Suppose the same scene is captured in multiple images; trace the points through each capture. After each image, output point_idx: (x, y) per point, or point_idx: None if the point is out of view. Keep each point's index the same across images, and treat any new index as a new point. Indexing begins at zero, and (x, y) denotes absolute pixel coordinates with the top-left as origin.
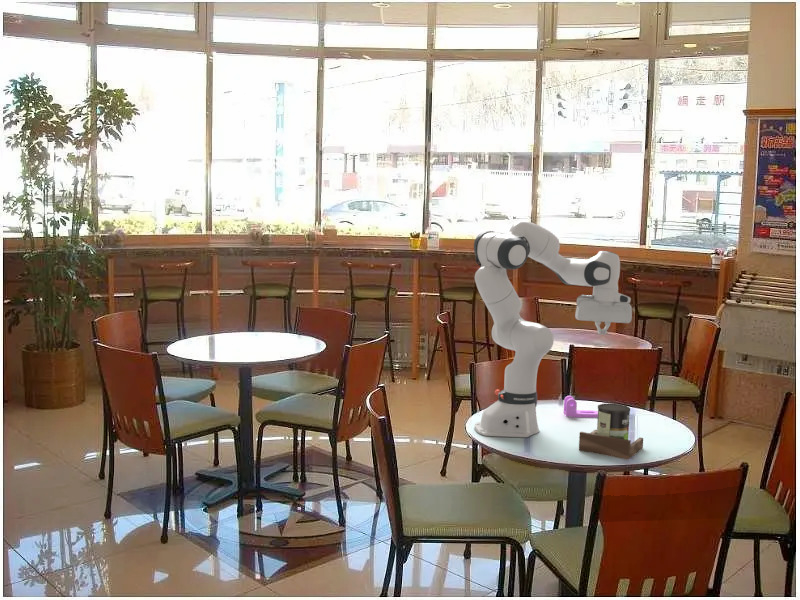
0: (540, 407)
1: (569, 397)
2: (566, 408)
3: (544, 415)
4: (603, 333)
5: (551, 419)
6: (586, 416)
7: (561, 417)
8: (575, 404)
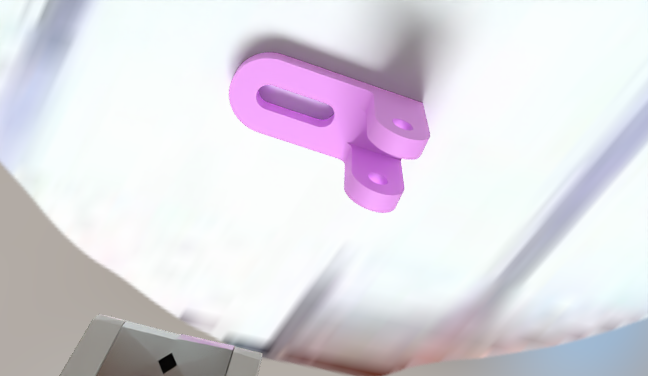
0: (443, 272)
1: (380, 190)
2: (425, 124)
3: (515, 153)
4: (161, 334)
5: (530, 79)
6: (320, 68)
7: (453, 99)
8: (382, 116)
